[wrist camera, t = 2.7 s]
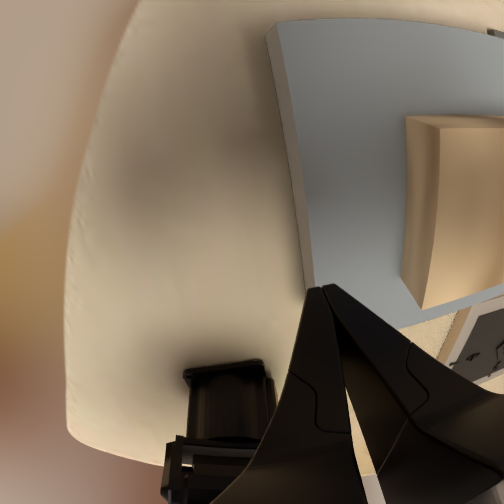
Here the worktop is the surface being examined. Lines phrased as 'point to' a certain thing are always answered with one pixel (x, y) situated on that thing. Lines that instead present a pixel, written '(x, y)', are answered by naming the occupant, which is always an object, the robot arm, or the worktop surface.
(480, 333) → the picture frame
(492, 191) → the coaster
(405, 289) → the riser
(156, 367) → the worktop surface
